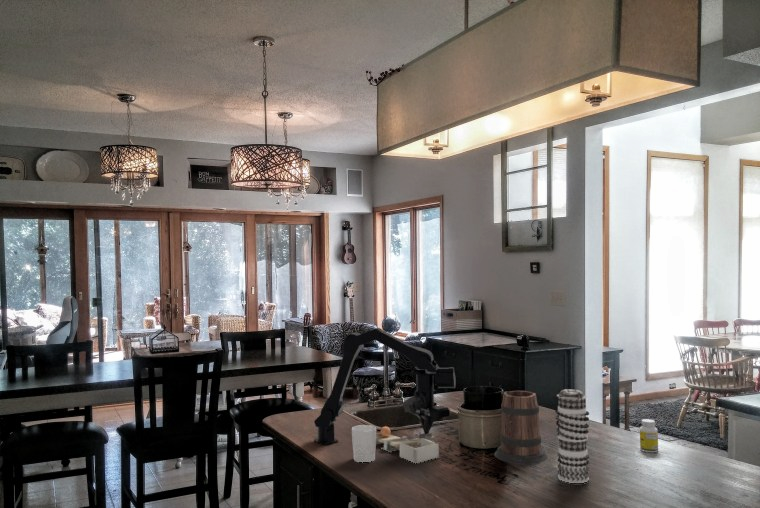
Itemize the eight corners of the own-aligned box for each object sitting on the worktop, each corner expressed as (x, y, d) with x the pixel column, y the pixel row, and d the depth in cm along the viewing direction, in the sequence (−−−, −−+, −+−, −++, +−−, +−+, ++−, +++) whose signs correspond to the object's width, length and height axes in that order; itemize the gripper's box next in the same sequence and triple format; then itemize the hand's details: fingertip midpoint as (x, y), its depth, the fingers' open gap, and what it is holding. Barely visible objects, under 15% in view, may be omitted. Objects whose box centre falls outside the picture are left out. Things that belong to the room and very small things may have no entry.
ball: (378, 436, 203) (378, 426, 203) (386, 434, 205) (386, 424, 206) (384, 438, 201) (384, 428, 201) (392, 437, 203) (392, 426, 203)
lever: (374, 440, 203) (374, 432, 203) (409, 432, 212) (408, 425, 212) (402, 449, 190) (402, 441, 190) (438, 440, 199) (437, 433, 199)
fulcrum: (380, 448, 198) (380, 439, 198) (402, 443, 203) (401, 434, 203) (389, 452, 193) (389, 442, 194) (411, 447, 199) (410, 437, 199)
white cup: (373, 464, 182) (373, 432, 182) (349, 463, 184) (348, 431, 184) (379, 456, 190) (378, 425, 190) (355, 455, 191) (354, 424, 192)
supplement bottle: (639, 447, 195) (638, 417, 196) (657, 448, 194) (656, 419, 194) (640, 452, 190) (640, 422, 191) (659, 453, 188) (658, 423, 189)
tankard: (545, 466, 178) (544, 400, 178) (489, 460, 184) (488, 396, 184) (552, 444, 200) (550, 385, 200) (502, 440, 206) (501, 383, 206)
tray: (399, 457, 188) (399, 443, 189) (422, 451, 194) (422, 438, 194) (415, 463, 182) (415, 449, 182) (438, 457, 187) (438, 443, 188)
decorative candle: (587, 486, 161) (585, 395, 162) (553, 481, 166) (551, 392, 166) (593, 476, 169) (591, 389, 170) (560, 471, 174) (558, 386, 174)
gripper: (389, 387, 202) (391, 432, 202) (424, 395, 187) (426, 444, 187) (415, 382, 209) (416, 426, 208) (450, 390, 194) (452, 438, 193)
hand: (426, 433), depth 199 cm, fingers closed, pressing on lever
